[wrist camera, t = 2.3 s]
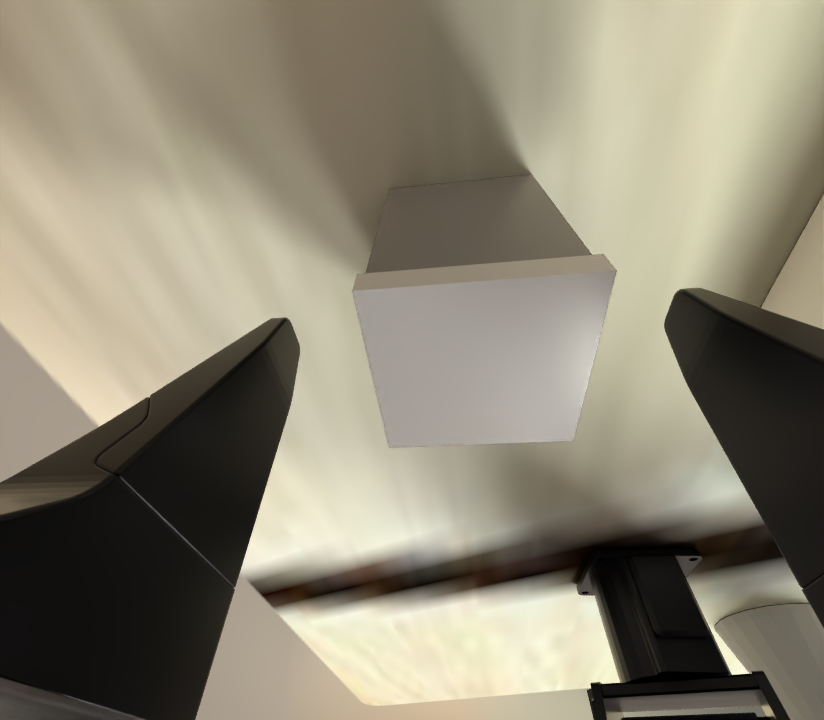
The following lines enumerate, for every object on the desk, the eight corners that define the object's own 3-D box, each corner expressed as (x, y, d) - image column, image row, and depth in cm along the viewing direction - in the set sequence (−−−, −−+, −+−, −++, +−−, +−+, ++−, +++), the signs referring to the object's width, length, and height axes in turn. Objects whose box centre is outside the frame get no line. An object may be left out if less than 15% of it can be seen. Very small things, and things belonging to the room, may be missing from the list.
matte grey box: (523, 301, 13) (573, 441, 9) (403, 309, 14) (388, 447, 9) (535, 170, 11) (617, 270, 6) (385, 185, 11) (352, 290, 6)
